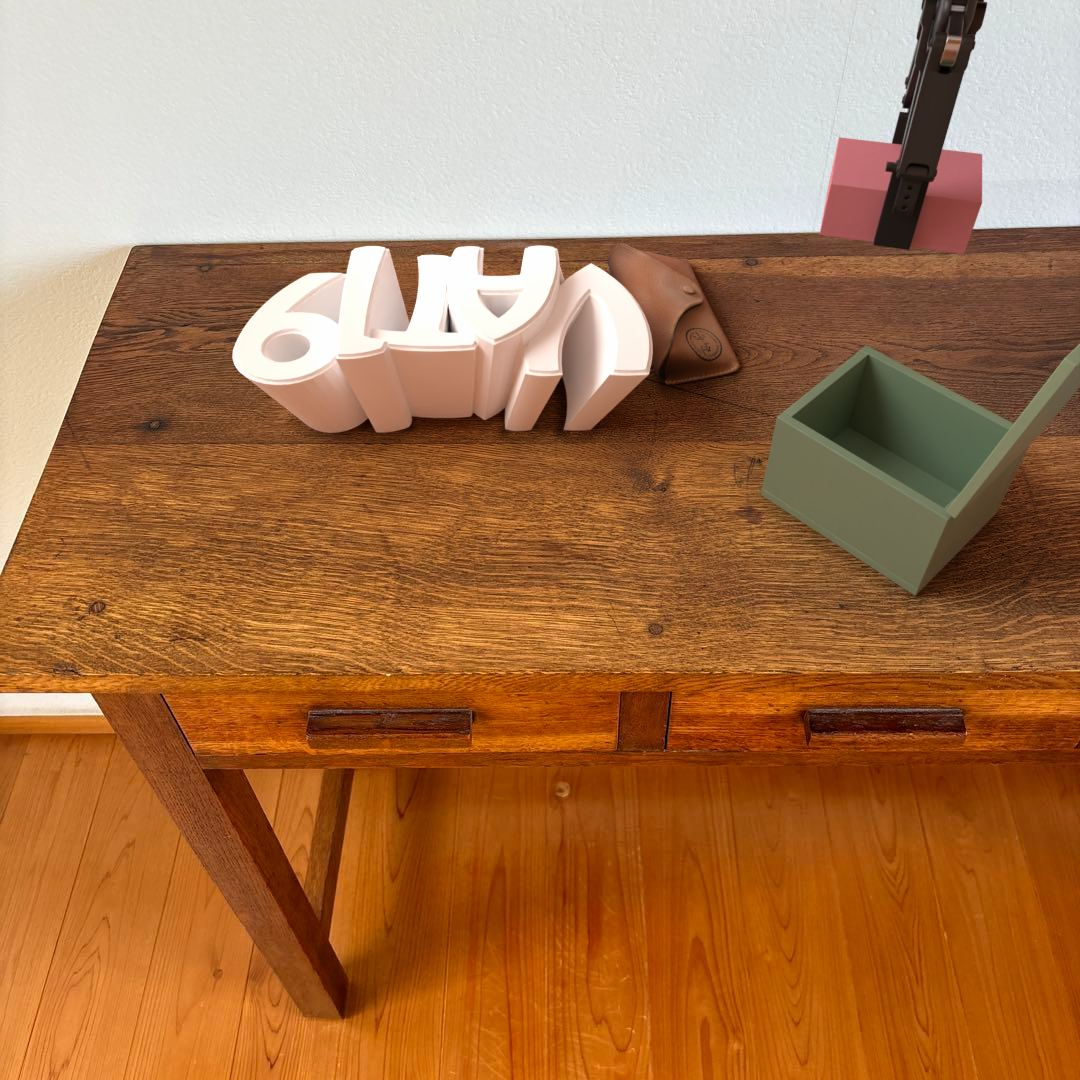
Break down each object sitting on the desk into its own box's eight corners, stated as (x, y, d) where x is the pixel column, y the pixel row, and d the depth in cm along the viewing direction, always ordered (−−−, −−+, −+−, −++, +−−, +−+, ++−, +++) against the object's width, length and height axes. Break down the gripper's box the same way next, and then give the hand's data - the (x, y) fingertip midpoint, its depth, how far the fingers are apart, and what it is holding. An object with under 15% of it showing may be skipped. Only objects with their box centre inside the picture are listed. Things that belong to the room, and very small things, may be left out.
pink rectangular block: (965, 205, 83) (982, 153, 79) (963, 254, 78) (982, 202, 75) (827, 187, 85) (838, 136, 81) (819, 235, 80) (830, 183, 77)
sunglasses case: (747, 367, 92) (718, 323, 87) (681, 408, 94) (649, 367, 89) (685, 255, 103) (656, 210, 99) (627, 293, 105) (596, 251, 101)
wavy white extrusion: (648, 337, 96) (655, 241, 88) (646, 463, 86) (653, 367, 78) (287, 328, 99) (261, 233, 90) (242, 449, 88) (208, 354, 80)
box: (760, 495, 83) (776, 416, 76) (844, 424, 88) (866, 344, 81) (915, 596, 76) (948, 520, 69) (996, 513, 81) (1034, 434, 74)
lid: (1064, 358, 56) (1076, 366, 56) (1160, 267, 61) (1172, 274, 61) (945, 512, 69) (954, 519, 69) (1032, 426, 74) (1041, 433, 74)
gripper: (927, -162, 70) (856, 148, 88) (915, -48, 58) (835, 284, 76) (1041, -155, 69) (945, 158, 87) (1053, -37, 57) (939, 299, 74)
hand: (894, 217), depth 81 cm, fingers closed on pink rectangular block, 7 cm apart
